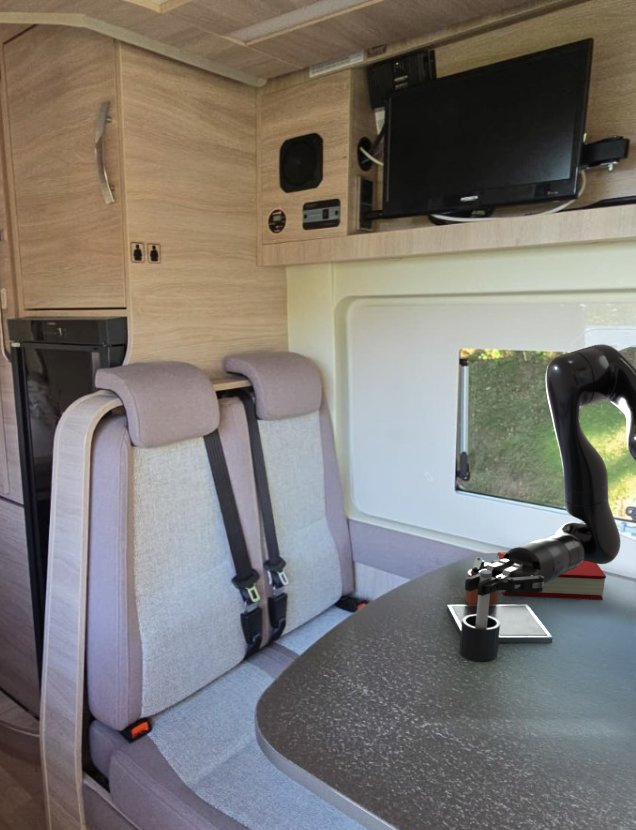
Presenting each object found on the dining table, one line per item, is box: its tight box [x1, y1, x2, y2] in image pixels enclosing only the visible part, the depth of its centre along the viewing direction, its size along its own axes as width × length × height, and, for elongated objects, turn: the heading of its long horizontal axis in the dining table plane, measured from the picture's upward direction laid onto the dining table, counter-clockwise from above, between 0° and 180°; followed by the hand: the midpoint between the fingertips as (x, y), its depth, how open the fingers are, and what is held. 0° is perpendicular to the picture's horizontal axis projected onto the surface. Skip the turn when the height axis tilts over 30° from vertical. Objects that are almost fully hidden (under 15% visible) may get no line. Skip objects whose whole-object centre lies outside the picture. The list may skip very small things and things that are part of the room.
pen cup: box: [464, 568, 500, 605], centre depth 142 cm, size 6×6×6 cm
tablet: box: [446, 604, 554, 644], centre depth 132 cm, size 15×14×1 cm
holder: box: [459, 614, 500, 663], centre depth 122 cm, size 6×6×6 cm
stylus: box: [476, 570, 492, 628], centre depth 120 cm, size 2×2×13 cm
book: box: [496, 551, 607, 601], centre depth 148 cm, size 18×13×5 cm
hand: (473, 587), depth 117 cm, fingers closed on stylus, 2 cm apart
